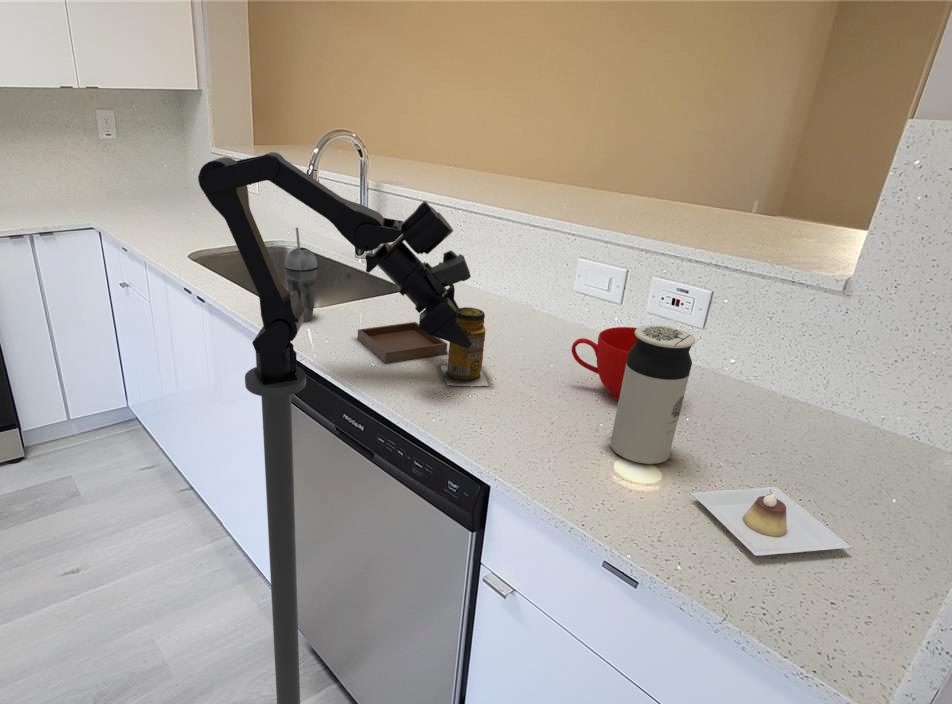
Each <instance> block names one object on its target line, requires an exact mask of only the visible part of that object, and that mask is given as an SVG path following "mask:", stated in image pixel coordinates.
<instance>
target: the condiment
mask: <svg viewBox="0 0 952 704" xmlns="http://www.w3.org/2000/svg"><path fill="white" fill-rule="evenodd" d="M485 318H486V314H485V312H484V311H483V310H482V309H479V308H476V307H467V306H466V307H459V309H457V322H458V323H459V325H460V326H461V328H462V329H463V331H464V332H465V334H466V335H467V337H468V338H469V340H470V341H471V343H472V346H470V347H469V348H465V347H462V346H459V345H457V344H454V343H452V342H449V344H448V355H447V356H448V357H447V365H440V369H441V372H442V374H443V375H442V376H443V377H444V381H445V383H446V385H447V386H453V387H470V388H473V387H489V382H488V380H487V379H486V377H485V375H484V373H483V371H482V368H483V363H484V362H483V361H484V350H485V349H484V347H485V341H486V331H487V330H486V327H485Z"/></svg>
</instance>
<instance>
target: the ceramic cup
mask: <svg viewBox="0 0 952 704" xmlns="http://www.w3.org/2000/svg"><path fill="white" fill-rule="evenodd" d="M637 328H638V327H634V326H633V327H632V326H617V327H611V328H610V327H609V328H605V329H603V330H602V331H600V332H599V334H598V338H597V342H596V343H595V342H594V341H593V340H591V339H588V338H584V337H581V338H578V339H576V340H574V341H573V343H572V345H571V355H572V357H573V358H574V360H575V361H576V363H577V364H579V365H580V366H581V367H583V368H585V369H587V370H588V371H590V372H593V373H595V374H597V375H598V376H599V379H600V381H601V383H602V385H603V387H604V388H605V389H606V391H607V392H608V394H609V396H611V397H612V398H613V399H615V400H617V401H619V397H620V392H621V387H622V382H623V377H624V372H625V368H626V363H627V358H628V353H629V350H630V349H631V348H632V347H633V346H634V345H635V344H636V335H635V330H636V329H637ZM579 344H586V345H587V346H590V347H591V348H592V349H593V351H594V355H595V357H596V366H593V365H592V364H589V363H588V362H586V361H584V360H583V359H581V357H580V356H579V354H578V353H577V346H578V345H579Z"/></svg>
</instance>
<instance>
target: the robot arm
mask: <svg viewBox="0 0 952 704" xmlns="http://www.w3.org/2000/svg"><path fill="white" fill-rule="evenodd" d="M197 179H198V180H197V182H198V185H199V188H200V189H201V191H202V192H203V194H204V196H205V197H206V198H207V200H208V202H209V204H211V206H212V207H213V208H214V209H215V210H216V211H217V212H218V214H219V215H220V216H222V218H223V219H224V221H225V222H226V225H227V227H228V229H229V232H230V234H231V236H232V238H233V240H234V243H235V245H236V247H237V249H238V252H239V254H240V256H241V259H242V260H243V263H244V265H245V267H246V270H247V272H248V275H249V277H250V279H251V281H252V284H253V285H254V288H255V291H256V292H257V295H258V298H259V299H258V300H259V307H260V308H259V309H260V317H261V321H262V324H263V325H262V327H261V329H260V330H259V332H258V333H257V335H255V337H254V339H253V340H252V344H251V345H252V346H253V348H254V350H255V360H256V361H255V365H256V366H255V367H257V369H254V372H255V374H256V375H257V377H258V378H259V380H260V381H261V383H262V384H263V385H267V384H273V383H280V382H286V381H292V380H297V376H296V374H295V373H296V372H297V367H298V363H297V361H298V360H297V352H296V350H295V349H294V344H293V343H292V341H293V340H295V338H296V337H297V335H298V332H300V329H301V327H302V325H303V323H304V322H303V320H304V316H303V312H304V311H305V308H304V307H303V306H302V305H301V303H300V301H299V297H298V293H297V291H296V290H294V291H293V292H291V293H289V291H288V290H287V289H286V287H285V286H284V285H283V284H282V281H281V279H280V276H279V275H278V272H277V270H276V267H275V265H274V262H273V260H272V257H271V255H270V252H269V250H268V248H267V246H266V243H265V241H264V239H263V237H262V234H261V232H260V230H259V227H258V225H257V223H256V220H255V218H254V215H253V213H252V211H251V207H250V198H249V189H248V186H250V185H252V184H257V183H262V182H265V181H268V182H270V183H271V184H273V185H274V186H276V187H278V189H280V190H282V191H284V192H285V193H287V194H288V195H290V196H291V197H293V198H295V199H296V200H297V201H299V202H301V203H302V204H304V205H305V206H306V207H308V208H310V209H311V210H312V211H314V212H316V213H317V214H319V215H321V216H322V217H323V218H324V219H327V220H328V221H329V222H330V223H331V224H332V225H333V226H334V227H335V229H336V230H337V231H338V232H339V233H340V234H341V236H343V237H344V239H346V240H347V241H348V242H349V243H350V244H351V245H352V246H353V247H354V248H356V249H357V250H359V251H361V252H364V253H365V252H366V254H365V257H364V258H365V262H366V266H365V267H366V268H365V272H366V273H368V274H369V273H371V272H372V271H373V270H374V269H375V268H376V267H378V268H379V269H380V270H381V271H382V272H383V273H384V274H385V275H386V276H387V277H388V278H389V279H390V281H392V282H393V284H395V286H396V287H397V288H398V293H399V294H400V295H401V296H402V297H404V296H406V297H407V299H409V301H411V302H412V303H413V304H414V305H415V307H414V308H415V311H416V312H417V313H418V314H419V321H418V324H419V329H420V330H421V331H422V332H423V333H424V334H425V335H426V336H431V337H433V336H434V337H437V338H440V339H441V340H443V341H445V342H449V343H450V342H452V343H454V344H457V345H459V346H462V347H465V348H469V347H470V346H472V343H471V341H470V340H469V338H468V337H467V335H466V334H465V332H464V331H463V329H462V328H461V326H460V325H459V323H458V322H457V309H459V308H460V307H459V305H458V303H457V302H456V300H455V285H454V284H457V283H459V282H465V281H467V280H469V279H470V278H472V276H471V271H470V268H469V266H468V264H467V261H466V257H465V255H463V254H461V253H460V254H456V253H455V252H454V251H453V250H449V251H446V252H444V253H443V255H442V256H443V257H442V262H438V264H437V265H434V266H432V265H430V263H429V262H425V261H424V262H422V261H421V260H420V259H419V258H418V256H417V255H423V254H425V255H429V254H431V252H433V250H435V249H436V248H437V247H438V246H439V245H440V244H441V243H443V241H445V239H447V238H448V237H450V235H451V234H452V233H454V229H453V228H452V226H451V225H450V223H449V222H448V221H447V220H446V218H445V216H443V215H442V214H441V213H440V211H437V210H435V208H433V207H432V206H431V205H430V204H429V203H428V202H427V201H426V200H424V201H422V202H421V203H420V204H419V205H418V206H417V208H416V209H415V210H414V211H413V212H412V213H411V214H410V215H409V216H408V217H407V218H406V219H405V220H404V221H403V220H399V219H394V218H389V217H384V216H383V215H382V214H381V213H380V212H379V211H376V210H374V209H372V208H370V207H368V206H366V205H363V204H360V203H358V202H355V201H351V200H348V199H346V198H344V197H342V196H340V195H339V194H338V193H336V192H335V191H333V190H331V189H330V188H328V187H327V186H326V185H324V184H323V183H321V182H320V181H318V180H316V179H315V178H313V177H312V176H310V175H309V174H307V173H306V172H304V171H303V170H301V169H300V168H298V167H297V166H295V165H294V164H293V163H291V162H289V161H288V160H286V159H285V158H284V156H283V155H281V154H280V153H278V152H276V151H271V152H268V153H265V154H263V155H259V156H254V157H247V158H242V159H239V160H236V159H234V158H232V157H228V156H223V157H219V158H216V159H213V160H210V161H207V162H206V163H205V164H203V166H202V167H201V168H200V170H199V172H198V176H197ZM404 241H405V243H406V244H407V245H408V246H407V245H406V244H405V243H404ZM390 243H391V244H390ZM409 247H410V248H409ZM374 250H376V251H375V252H373V253H372V252H371V253H369V252H370V251H374ZM413 251H414V252H413ZM415 253H416V254H417V255H416V254H415Z"/></svg>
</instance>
